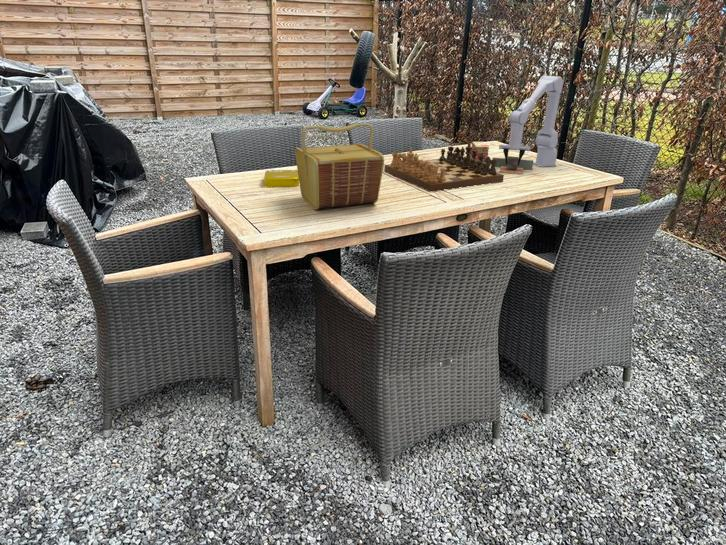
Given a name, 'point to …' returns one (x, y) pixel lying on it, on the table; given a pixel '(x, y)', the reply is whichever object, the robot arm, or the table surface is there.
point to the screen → (523, 164)
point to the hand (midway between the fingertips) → (512, 164)
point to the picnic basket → (339, 172)
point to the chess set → (445, 169)
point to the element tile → (281, 178)
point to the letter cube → (512, 162)
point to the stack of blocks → (480, 150)
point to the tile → (511, 170)
